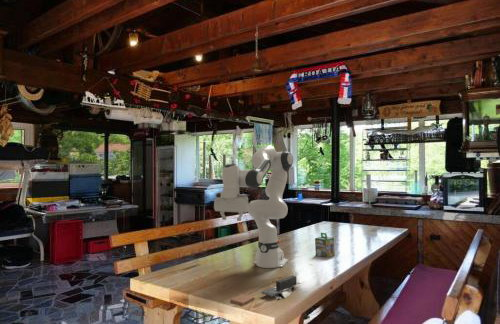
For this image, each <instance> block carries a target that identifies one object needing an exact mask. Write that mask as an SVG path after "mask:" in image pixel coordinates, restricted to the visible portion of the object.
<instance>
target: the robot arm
mask: <svg viewBox="0 0 500 324" xmlns="http://www.w3.org/2000/svg"><path fill="white" fill-rule="evenodd" d="M293 163H294V157H293V154H292V153H291V152H290V151H286V150H285V151H277V150H276V149H275V147H274V146H272V145H270V144H269V145H265V146H263V147H261V148H259V149H258V150H256V152H254V153H253V154H252V156H251V164H252V166H253V167H254V168H255V169H241V168H240V167H239V166H238V163H228V164H225V165H224V166H223V168H222V183H223V186H222V191H219V192H216V193H215V194H214V201H213V202H214V203H213V209H214V211H215V212H219V213H220V216H221V219H222V221H226V220H227V216H226V215H225V213H238V216H237V217H236V220H237V222H241V221H242V217H243V215H244V214H246V213H248V214H249V216H250V217H251V218H252V219H253V220H254V222H255V224H256V227H257V231H258V241H257V247H258V249H257V250H256V255H255V256H256V257H255V261H254V264H255V265H256V266H257V267H259V268H263V269H274V268H284V266H285V265H286V264H287V262H288V261H289V259H288V258H285V253H284V250H282V249H281V248H280V246H279V245H280V244H281V240H279V239H278V230H277V226H275V225H274V224H272V223H271V221H270V219H272V220H279V219H284V218H286V216H287V215H288V210H289V209H288V205H287V203H286V202H285V201H284V199H283V194H284V192H285V189H286V184H287V181H288V171H289V170H290V169H291V167H292V165H293ZM270 170H272V173H271V175H270V177H269V179H268V182H267V184H266V187H265V189H264V191H265V195H266V196H267V197H268V198H269V199H255V200H251V201H250V202H249V197H248V195H246V194H240V188H251V189H258V188H259V187H260V186H261V184H262V182H263V180H264V178H265V177H266V175H267V173H268V172H269V171H270Z"/></svg>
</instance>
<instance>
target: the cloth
mask: <svg viewBox="0 0 500 324" xmlns="http://www.w3.org/2000/svg"><path fill="white" fill-rule="evenodd" d="M295 286H296V285H294V286H292V287H289V288H287V289H284V290H283V292H282V293H279V294H277V295H274V296H273V297H275V300H276V301H278V300H279V299H282V298H284V299H287V297H289V296H290V295H291V294H292V293H293V292H292V288H294V287H295ZM274 287H275V288H276V286H274ZM280 295H281V296H282V297H281V296H280Z"/></svg>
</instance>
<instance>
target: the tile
mask: <svg viewBox="0 0 500 324" xmlns="http://www.w3.org/2000/svg"><path fill="white" fill-rule="evenodd" d="M254 300H255V297H254V296H252V295H247V294H243V293H241V294H239V295H236V296H235V297H233V298H231V299H230V303H234V304H237V305H240V306H246V305H247V304H249V303H251V302H253V301H254Z"/></svg>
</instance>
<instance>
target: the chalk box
mask: <svg viewBox="0 0 500 324" xmlns="http://www.w3.org/2000/svg"><path fill="white" fill-rule="evenodd" d="M314 245H315V246H314V247H315V256H319V257H323V258H329V257H332V256H335V254H336V253H335V252H336V251H335V238H334V237H331V236H327V233H326V232H320V236H318V237H315V238H314Z"/></svg>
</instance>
